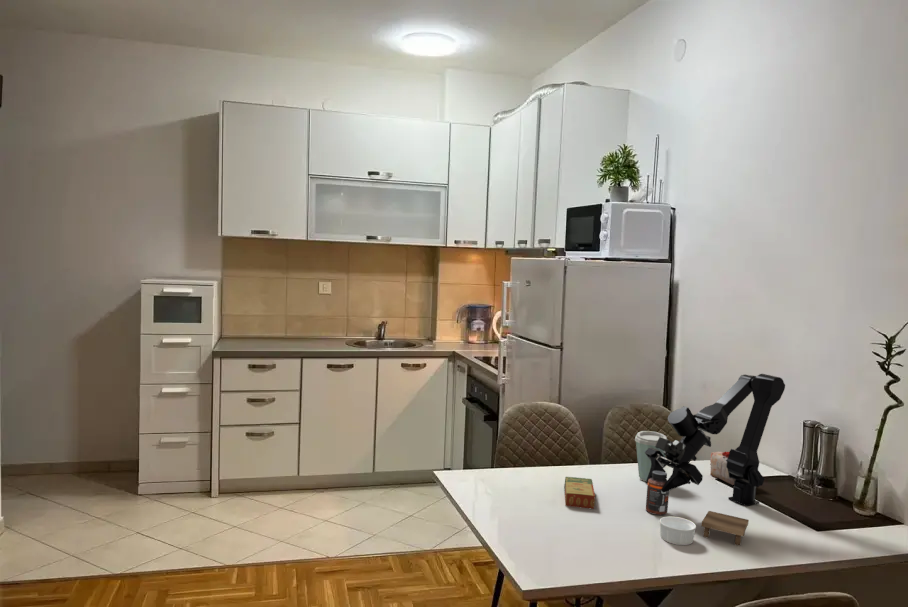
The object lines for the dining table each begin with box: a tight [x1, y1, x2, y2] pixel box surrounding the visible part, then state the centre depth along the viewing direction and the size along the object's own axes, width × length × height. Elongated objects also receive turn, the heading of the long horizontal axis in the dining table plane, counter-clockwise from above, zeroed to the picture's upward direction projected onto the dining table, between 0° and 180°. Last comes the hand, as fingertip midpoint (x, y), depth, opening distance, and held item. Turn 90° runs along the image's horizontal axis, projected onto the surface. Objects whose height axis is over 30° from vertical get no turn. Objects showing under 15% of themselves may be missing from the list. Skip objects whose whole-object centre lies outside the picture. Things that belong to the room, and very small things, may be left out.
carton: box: [563, 476, 596, 510], centre depth 200 cm, size 8×16×4 cm, turn 172°
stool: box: [701, 510, 749, 546], centre depth 178 cm, size 10×10×4 cm
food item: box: [709, 451, 735, 486], centre depth 226 cm, size 14×8×10 cm, turn 18°
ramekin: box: [659, 516, 697, 546], centre depth 174 cm, size 9×9×4 cm
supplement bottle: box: [645, 471, 670, 516], centre depth 192 cm, size 6×6×11 cm
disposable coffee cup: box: [634, 430, 669, 482], centre depth 221 cm, size 11×11×15 cm
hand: (654, 487), depth 192 cm, fingers open, 6 cm apart
